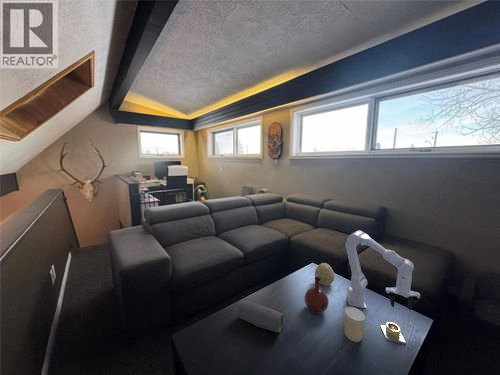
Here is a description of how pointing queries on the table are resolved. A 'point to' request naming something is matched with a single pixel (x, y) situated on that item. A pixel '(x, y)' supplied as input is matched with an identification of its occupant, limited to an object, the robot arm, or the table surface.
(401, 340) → the shaft block
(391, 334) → the collar
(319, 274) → the fossilized egg
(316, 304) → the round-bottom flask
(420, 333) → the table surface
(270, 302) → the table surface
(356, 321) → the coffee cup
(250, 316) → the bluetooth speaker
